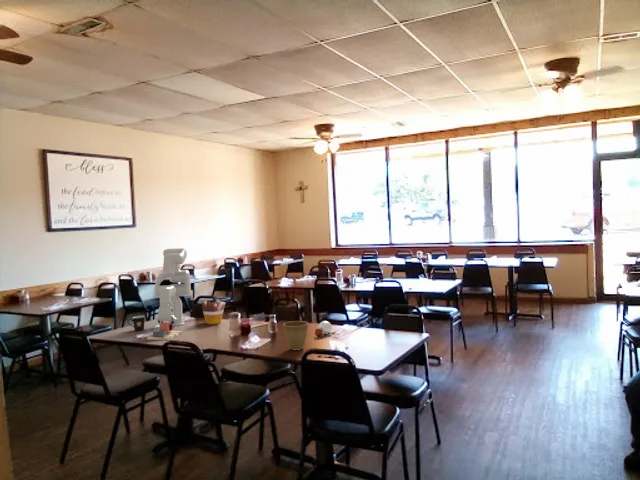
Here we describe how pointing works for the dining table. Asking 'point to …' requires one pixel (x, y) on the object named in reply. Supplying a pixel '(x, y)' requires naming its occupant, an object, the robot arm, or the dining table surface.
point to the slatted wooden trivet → (169, 336)
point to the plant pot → (296, 333)
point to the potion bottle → (323, 328)
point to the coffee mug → (138, 323)
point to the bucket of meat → (213, 311)
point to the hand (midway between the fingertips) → (166, 329)
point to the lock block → (165, 327)
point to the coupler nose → (159, 333)
